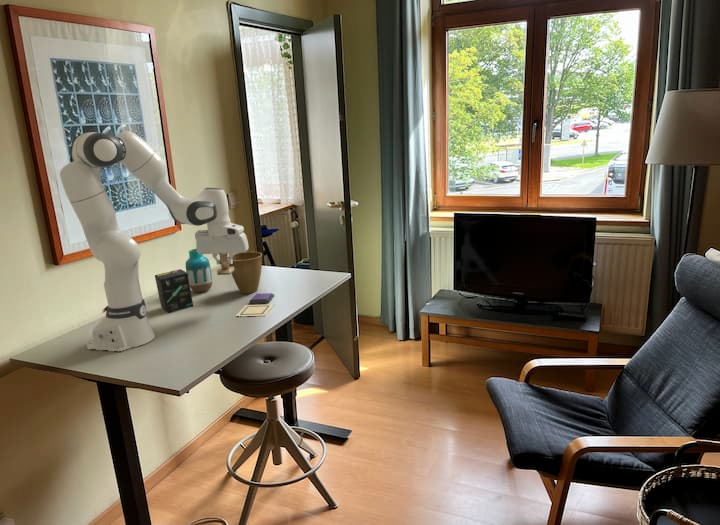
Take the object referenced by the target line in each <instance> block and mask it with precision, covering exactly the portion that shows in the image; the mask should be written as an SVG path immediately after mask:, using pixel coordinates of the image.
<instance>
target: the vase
mask: <svg viewBox="0 0 720 525" xmlns="http://www.w3.org/2000/svg"><path fill="white" fill-rule="evenodd" d="M188 254H189V256H188V258H187V260H186V261H185V272H186V273H188V279H189V285H190V290H192V291H193V292H195V293H204V292H207V291H208V290H210V289H211V288H212V286H213V274H212V268H211V264H210V260H209V258H208V257H206V256H204V254H198V252H197V249H196V248H192V249H189V250H188Z"/></svg>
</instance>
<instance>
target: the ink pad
mask: <svg viewBox="0 0 720 525" xmlns="http://www.w3.org/2000/svg"><path fill="white" fill-rule="evenodd" d="M273 297H275V293H272V292H270V293H269V292H268V293H256V294H255V295H253V297H251V299H250V300H249V305H260V304H259V303H267V304H270V303H271V301H272V300H273V299H274V298H273ZM272 298H273V299H272Z"/></svg>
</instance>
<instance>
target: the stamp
mask: <svg viewBox="0 0 720 525" xmlns="http://www.w3.org/2000/svg"><path fill="white" fill-rule="evenodd" d="M218 255H219V259H220V262H221V264H220V268H219V269H217V270H216V272H217V276H227V275H232V272H234V267H229V264H228V262H227V260H228V257H229V253H218Z"/></svg>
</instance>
